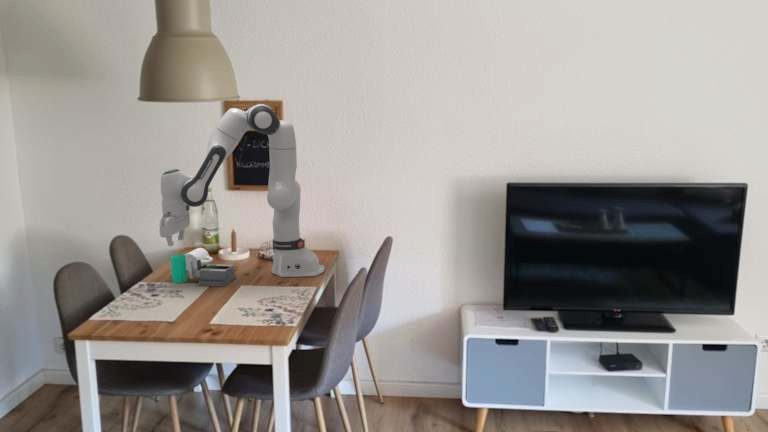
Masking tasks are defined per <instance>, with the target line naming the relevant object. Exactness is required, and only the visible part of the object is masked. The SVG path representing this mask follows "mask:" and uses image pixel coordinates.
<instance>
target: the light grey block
mask: <svg viewBox="0 0 768 432" xmlns="http://www.w3.org/2000/svg"><path fill="white" fill-rule="evenodd" d="M188 264H189V271H188V272H189V273H188V274H189V279H190V280H191V279H194V278H196V277H197V278H200V272H199V271H200V269H202V267H201V260H197V258H194V259H192V260H191V261H189V262H188Z"/></svg>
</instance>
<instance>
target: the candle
mask: <svg viewBox="0 0 768 432" xmlns="http://www.w3.org/2000/svg"><path fill="white" fill-rule="evenodd" d="M176 254H177V255H175V254H174V255H171V256H170V267H171V278H172V280H171V281H172V283H174V284H175V283H176V284H181V283H185V282H187V281H188V271H187V269H186V257H185V254H182V253H180V254H179V252H176Z"/></svg>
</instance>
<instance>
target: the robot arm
mask: <svg viewBox="0 0 768 432" xmlns="http://www.w3.org/2000/svg"><path fill="white" fill-rule="evenodd" d="M250 130H254V131H255V132H258V133H260V134H264V135H267V137H268V147H269V148H268V151H269V173H268V184H267V197H266V199H267V200H266V201H267V204H268V205H269V207H270V208H271V209H273V216H272V217H273V218H272V231H273V233H272V234H273V239H272V251H273V261H272V268H271V273H272V274H274V275H276V276H278V277H280V278H296V277H297V278H299V277H301V278H302V277H303V278H304V277H316V276H319V275H321V274H323V272H324V271H325V269H326V268H325V266H324V265H323V264H320V260H319V256H318V255H317V254H316V253H315V252H313V251H312V250H311V249H309V248H308V247H306V246H305V244H306V243H305V242H306V239H305V238H304V239H303V238H302V237H300V211H301V210H300V209H301V193H302V192H301V185H300V183H299V182H298V181H297V180H296V176H297V175H296V174H297V173H296V172H297V168H298V167H297V166H298V163H297V161H298V160H297V157H298V156H297V141H296V140H297V138H296V134H295V128H294V126H293V124H292V123H291V122H290V121H288V120H285V119H284V120H283V119H282V120H281V119H279V118H278V116H277V115H276V113H275V111H274V110H273V109H272V108H271V107H270V106H269V105H266V104H264V103H257V104H253V105H252V106H250V107H248V108H246V109H244V110H242V109H240V108H238V107H237V108H236V107H231V108H229V109H228V110H227V111H225V113H224V114H223V116H222V117H221V118H220V120H219V121H218V122H217V124H216V125H215V126H214V128H213V130H212V132H211V134H210V137H209V141H208V144H207V149H206V150H207V151H206V156H205V158H204V160H203V162H202V164H201V165H200V167H199V169H198V171H197V173H196V174H195V175H191V174H188V173H186V172H184V171H182V170H181V169H176V168H175V169H169V170H167V171H165V172H164V173H162V175H161V177H160V193H161V196H162V200H161V207H162V208H161V211H162V216H161V218H160V220H159V235H160V237H161V238H165V239H166V242H167V246H168V247H172V246H174V240H173V239H172V238H173V236H174V235H176V234H178V235H177V239H178V241H183V240H184V237H185V231H186V228H189V227H190V224H191V223H190V222H191V219H190V215H191V214H190V209H191V208H190V207H196V208H197V207H200V206H202V205H203V204H204V203H205V202H206V201H207V199H208V195H209V187H210V186H211V185H210V184H211V182H212V180H213V179H214V177H215V176H216V174H217V172H218V171H219V168H220V167H221V166H222V164H223V163H224V162H225V161H226V160H227V158H228V157H229V156H230V155H231V154H232V153H233V152H234V150H235V149H236V148H237V146H238V145H239V143H240V141H241V140H242V138H243V136H244V135H245V133H246V132H248V131H250Z"/></svg>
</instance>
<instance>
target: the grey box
mask: <svg viewBox="0 0 768 432" xmlns="http://www.w3.org/2000/svg"><path fill="white" fill-rule="evenodd" d="M199 272H200V277H199V280H198V286H199V287H215V288H217V287H218V288H222V287H223V288H225V287H227V286H228V285H229V284H230V283H231V282H233V281H234V280H235V279H237V278H236V277H237V276H236V272H235V267H234V264H224V263H223V264H221V263H220V264H219V263H207V264H206V265H205V268H201V269H200V271H199Z"/></svg>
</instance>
